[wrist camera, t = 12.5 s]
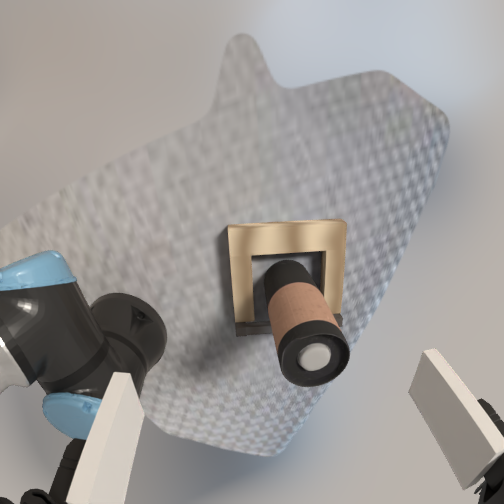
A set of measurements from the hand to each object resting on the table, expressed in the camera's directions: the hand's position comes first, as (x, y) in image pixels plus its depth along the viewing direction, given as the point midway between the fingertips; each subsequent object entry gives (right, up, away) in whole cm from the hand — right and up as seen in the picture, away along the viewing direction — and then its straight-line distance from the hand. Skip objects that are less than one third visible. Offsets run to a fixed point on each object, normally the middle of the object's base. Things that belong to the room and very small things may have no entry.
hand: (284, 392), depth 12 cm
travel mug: (+4, +2, +37) cm, 37 cm away
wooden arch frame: (+4, +3, +36) cm, 37 cm away
